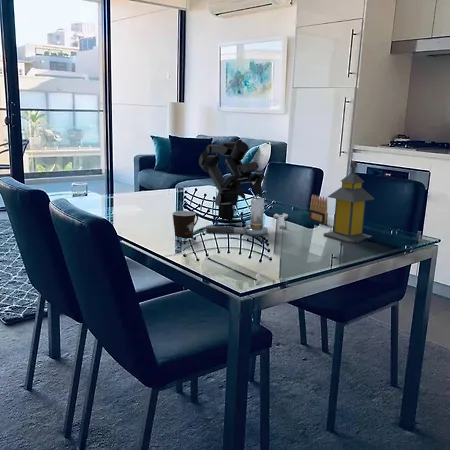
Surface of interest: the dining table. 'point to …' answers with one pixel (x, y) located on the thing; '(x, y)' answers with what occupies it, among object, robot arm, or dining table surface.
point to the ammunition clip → (318, 210)
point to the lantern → (349, 209)
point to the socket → (257, 213)
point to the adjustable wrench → (281, 220)
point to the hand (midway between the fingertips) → (253, 197)
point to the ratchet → (237, 230)
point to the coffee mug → (184, 223)
